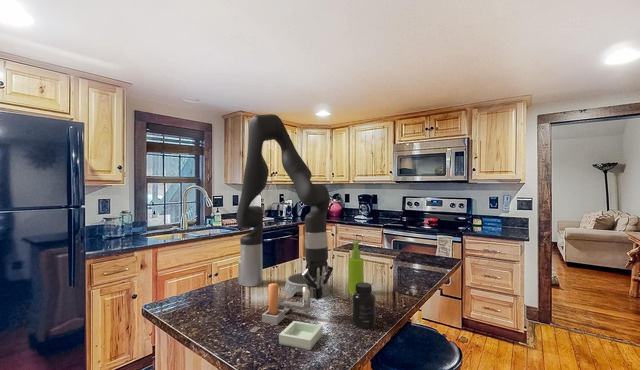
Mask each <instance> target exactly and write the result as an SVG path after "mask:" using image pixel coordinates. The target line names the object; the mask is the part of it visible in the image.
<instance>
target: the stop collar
mask: <svg viewBox="0 0 640 370" xmlns="http://www.w3.org/2000/svg"><path fill="white" fill-rule="evenodd" d="M285 318H286V314H285V311H284V310H278V315H277V316H273V315H269V310H268V309H267V310H266V311H265V312H264V313H262V314H261V323H265V324H271V325H279V324H280V323H281V322H282V321H283V320H284V319H285Z"/></svg>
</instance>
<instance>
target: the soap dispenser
mask: <svg viewBox="0 0 640 370" xmlns="http://www.w3.org/2000/svg"><path fill="white" fill-rule="evenodd" d="M360 243H362V241H361V240H354V241H353V242H352V245H353V249H351V257H349V258H348V265H347V266H348V269H347V270H348V294H349V295H352V294H354V293H355V292H356V284H357V283H360V282H365V280H364V275H365V274H364V267H365V266H364V258H362V257H361V249H359V244H360Z"/></svg>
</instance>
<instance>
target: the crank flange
mask: <svg viewBox="0 0 640 370" xmlns="http://www.w3.org/2000/svg"><path fill="white" fill-rule="evenodd" d="M267 310H269V307H267ZM278 310H284V311H285V315H286V314H288V313H289V312H290V307H287V306H285V307H284V308H283V309H278ZM260 329H261V327H260V326H256V325H255V326H254V327H252V328H251V329H250V330H249V332H251V333H256V332H257V331H259V330H260Z"/></svg>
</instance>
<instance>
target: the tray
mask: <svg viewBox="0 0 640 370" xmlns="http://www.w3.org/2000/svg"><path fill="white" fill-rule="evenodd" d="M323 329H324V328H323V325H322V324H314V323H308V322H303V321H297V320H293V321H292V322H291V323H290V324H289V325H288V326H286V328H284V329H283V330H282V331H281V332H280V333H279V334H278V344H279V345H282V346H288V347H293V348H296V349H301V350H305V351H306V350H307V351H311V350H312V349H313V348H314V346H315V345H316V343H318V341H319V340H320V338H321V337H322V336H323V335H324V334H323V331H324V330H323Z"/></svg>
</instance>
